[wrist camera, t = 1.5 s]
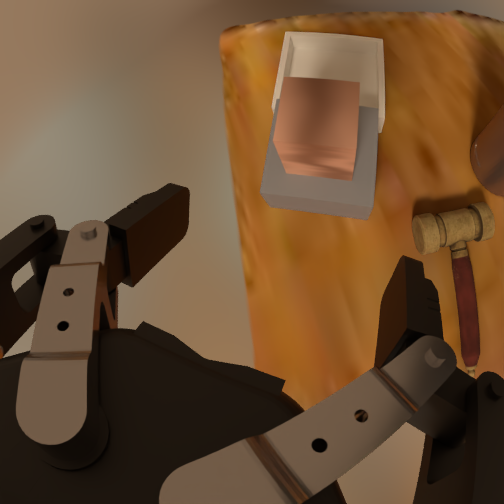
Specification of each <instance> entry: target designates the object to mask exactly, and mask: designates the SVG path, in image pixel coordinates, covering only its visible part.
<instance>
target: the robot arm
mask: <svg viewBox="0 0 504 504" xmlns="http://www.w3.org/2000/svg"><path fill="white" fill-rule="evenodd" d="M470 158H471V164H472V167H473V170H474V172H475V174H476V177H477V178H478V180H479V181H480V182H481V184H482V185H483V186H484V187H485V188H486V189H487V190H489V191H490V192H492V193H494V194H496V195H498V196H504V104H503V106H502V107H501V108H500V109H499V111H498V112H497V113H496V115H495V116H494V117H493V118H492V120H491V121H490V122H489V123H488V125H487V126H486V127H485V128H484V130H483V131H482V132H481V133H480V135H479V136H478V137H477V138H476V139H475V141H474V142H473V144H472V147H471V152H470ZM189 199H190V192H189V189H188V188H186V187H183V186H179V185H175V184H172V183H169V184H167V185H165V186H164V187H162V188H161V189H159V190H158V191H156V192H153V193H150V194H147V195H143V196H142V197H140V198H139V199H137V200H136V201H134V203H131V204H130V205H128V206H127V208H124V209H122V210H121V211H119V212H118V213H117V214H115V215H113V216H112V217H110V218H109V219H108V220H106V221H105V222H101V221H97V220H90V221H84V222H81V223H79V224H77V225H75V226H74V227H73V228H72V229H71V230H70V231H66V230H57V228H56V223H55V219H54V218H53V217H52V216H49V215H39V216H35V217H33V218H30V219H29V220H27V221H25V222H24V223H23V224H21V225H20V226H19V227H17V228H16V229H14V230H13V231H12V232H10V233H9V234H8V235H6V236H5V237H4V238H2V239H1V240H0V504H347V503H346V501H345V499H344V496H343V494H342V491H341V489H340V487H339V484H338V482H337V479H338V478H339V477H341V476H342V475H343V474H344V473H346V472H347V471H349V470H350V469H351V468H353V467H354V466H355V465H356V464H358V463H359V462H360V461H361V460H363V459H364V458H365V457H367V456H368V455H369V454H370V453H371V452H373V451H374V450H375V449H376V448H377V447H378V446H380V445H381V444H382V443H383V442H384V441H386V440H387V439H388V438H389V437H390V436H391V435H392V434H393V433H394V432H396V431H397V430H398V429H399V428H400V427H401V426H402V425H403V424H404V423H405V422H407V423H409V424H411V425H412V426H414V427H416V428H417V429H419V430H421V431H422V432H424V433H426V435H425V442H424V449H423V456H422V461H421V467H420V472H419V477H418V482H417V487H416V492H415V496H414V500H413V504H504V379H503V378H502V377H501V376H499V375H498V374H496V373H494V372H489V371H487V372H484V373H482V374H481V375H480V376H479V377H478V378H477V379H475V378H473V377H471V376H470V375H468V374H467V373H465V372H463V371H462V370H460V369H459V368H458V367H456V365H457V359H456V356H455V353H454V351H453V350H452V348H451V347H450V346H449V345H448V344H447V343H446V342H445V341H444V339H443V329H442V320H441V313H440V304H439V297H438V291H437V289H436V288H435V286H434V284H433V282H432V281H431V280H429V279H426V278H425V276H424V268H423V263H422V262H421V261H418V260H415V259H412V258H410V257H407V256H404V255H403V256H402V257H401V258H400V260H399V262H398V264H397V266H396V268H395V271H394V273H393V275H392V277H391V279H390V281H389V283H388V285H387V287H386V289H385V292H384V294H383V297H382V301H381V306H380V317H379V328H378V338H377V346H376V355H375V363H374V367H373V368H372V369H370V370H369V371H367V372H366V373H364V374H363V375H361V376H360V377H358V378H357V379H355V380H354V381H352V382H351V383H349V384H348V385H346V386H345V387H343V388H342V389H340V390H339V391H337V392H336V393H334V394H332V395H331V396H329V397H328V398H326V399H324V400H323V401H321V402H320V403H318V404H316V405H315V406H313V407H311V408H310V409H308V410H306V411H304V409H303V408H302V407H301V406H300V405H299V404H298V403H297V402H296V401H295V400H293V399H292V398H291V397H290V396H288V395H287V394H285V393H284V392H282V388H283V386H284V383H285V381H286V380H283V379H280V378H278V377H275V376H272V375H269V374H267V373H264V372H261V371H258V370H256V369H253V368H250V367H248V366H242V365H236V364H230V363H224V362H219V361H213V360H208V359H205V358H203V357H202V356H200V355H199V354H198V353H196V352H195V351H193V350H192V349H191V348H190V347H188V346H187V345H186V344H184V343H183V342H182V341H180V340H179V339H178V338H176V337H175V336H174V335H172V334H169V333H167V332H165V331H163V330H161V329H159V328H156V327H154V326H152V325H150V324H148V323H146V322H144V321H143V322H142V323H141V324H140V325H139V326H138V328H137V329H136V330H132V329H123V328H118V288H117V286H118V285H119V284H120V283H121V282H122V283H124V284H126V285H129V286H130V287H134V286H135V285H136V284H137V283H138V282H139V281H140V280H141V279H142V278H143V277H144V276H145V275H146V274H147V273H148V272H149V271H150V270H151V269H152V268H153V267H154V266H155V265H156V264H157V263H158V262H159V261H160V260H161V259H162V258H163V257H164V256H165V255H166V254H167V253H168V252H169V251H170V250H171V249H172V248H174V247H175V246H176V245H177V244H178V243H179V242H180V241H181V240H182V239H183V237H184V236H185V234H186V232H187V229H188V225H189ZM29 261H30V263H31V266H32V269H33V272H34V275H33V276H32V277H31V278H30V279H29V280H27V281H26V283H24V284H23V285H22V286H21V287H20V288H19V289H18V290H17V291H16V292H15V293H14V291H13V288H12V284H11V283H12V278H13V276H14V274H15V273H16V272H17V271H18V270H20V269H21V268H22V267H23V266H24V265H25V264H27V263H28V262H29ZM35 321H36V325H35V330H34V335H33V340H32V346H31V350H30V351H27V352H24V353H19V354H16V355H13V356H8V357H5V358H3V356H4V355H5V354H6V353H7V352H8V351H9V349H10V348H11V347H12V346H13V345H14V344H15V343H16V342H17V341H18V339H19V338H20V337H21V336H22V335H23V334H24V333H25V332H26V331H27V329H29V327H30V326H31V325H32V324H33V323H34V322H35Z"/></svg>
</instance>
